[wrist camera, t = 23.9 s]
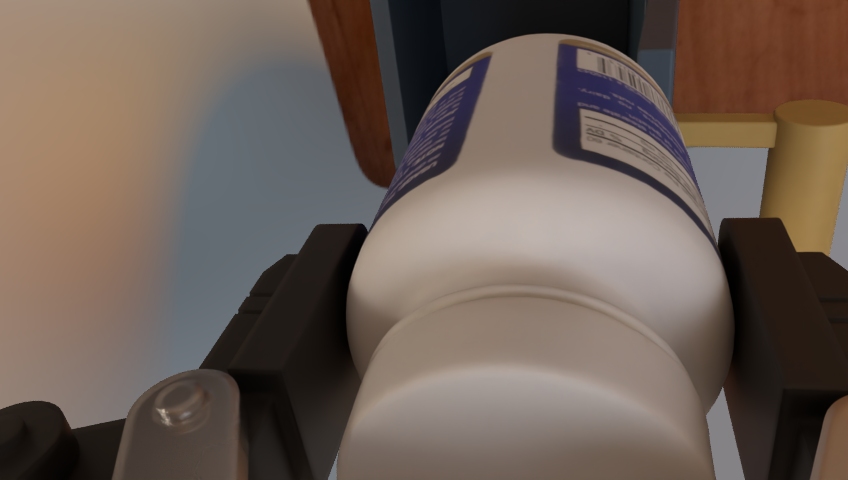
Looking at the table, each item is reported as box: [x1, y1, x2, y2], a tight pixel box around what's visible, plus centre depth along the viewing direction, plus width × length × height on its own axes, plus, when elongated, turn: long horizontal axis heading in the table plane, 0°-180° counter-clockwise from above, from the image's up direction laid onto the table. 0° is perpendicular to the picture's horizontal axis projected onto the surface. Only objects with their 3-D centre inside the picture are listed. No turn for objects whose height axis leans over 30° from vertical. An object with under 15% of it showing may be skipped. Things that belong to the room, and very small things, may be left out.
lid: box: [637, 0, 848, 257], centre depth 22 cm, size 12×10×5 cm
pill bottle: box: [337, 34, 735, 480], centre depth 11 cm, size 5×5×9 cm
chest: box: [370, 0, 648, 172], centre depth 34 cm, size 12×10×12 cm
